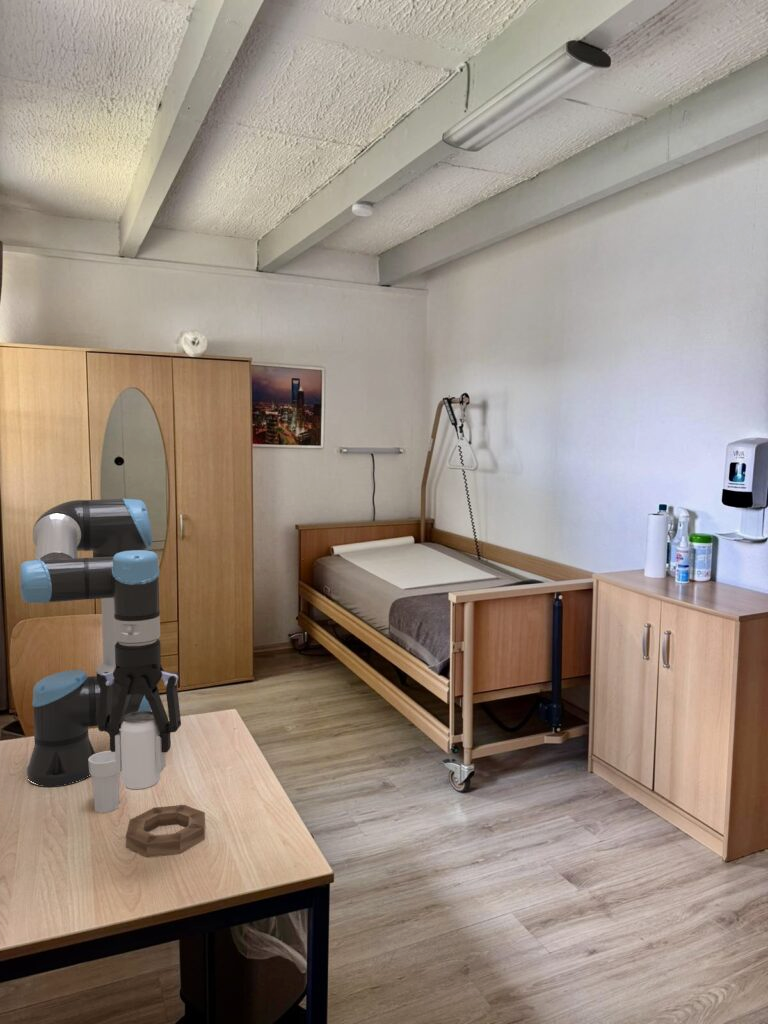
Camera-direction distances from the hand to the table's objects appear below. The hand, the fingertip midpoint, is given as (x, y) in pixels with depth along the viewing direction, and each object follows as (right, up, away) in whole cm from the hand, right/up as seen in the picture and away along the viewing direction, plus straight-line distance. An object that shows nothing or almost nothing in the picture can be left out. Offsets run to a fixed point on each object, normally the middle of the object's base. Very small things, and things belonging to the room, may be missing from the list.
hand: (141, 768), depth 129 cm
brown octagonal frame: (0, -19, +16) cm, 24 cm away
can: (0, -3, 0) cm, 3 cm away
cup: (-16, -18, +27) cm, 37 cm away
